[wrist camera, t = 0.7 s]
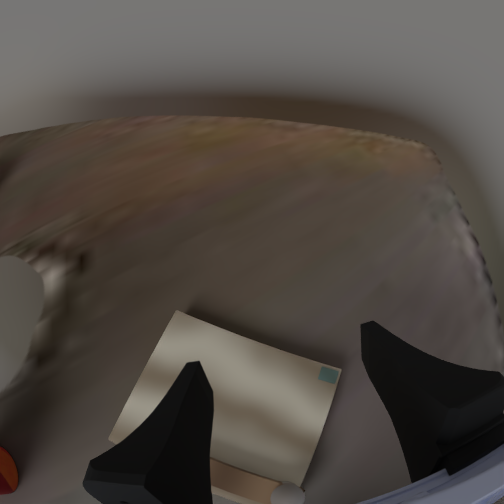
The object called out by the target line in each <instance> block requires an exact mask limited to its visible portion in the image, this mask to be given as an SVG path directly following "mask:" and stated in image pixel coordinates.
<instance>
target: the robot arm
mask: <svg viewBox="0 0 504 504" xmlns="http://www.w3.org/2000/svg"><path fill="white" fill-rule="evenodd" d="M361 352H362V361H363V363H364V366H365V368H366V371H367V373H368V376H369V378H370V380H371V382H372V383H373V385H374V387H375V389H376V391H377V393H378V394H379V396H380V398H381V400H382V402H383V404H384V405H385V407H386V409H387V411H388V413H389V415H390V417H391V419H392V422H393V425H394V427H395V430H396V433H397V435H398V438H399V441H400V444H401V447H402V450H403V453H404V457H405V460H406V463H407V467H408V470H409V474H410V478H411V482H412V484H410V485H407V486H405V487H402V488H400V489H397V490H394V491H392V492H389V493H386V494H383V495H381V496H378V497H375V498H372V499H369V500H365V501H362V502H359V503H355V504H493V503H494V502H496V501H497V500H499V499H500V498H501V497H503V496H504V414H503V410H504V376H503V375H502V374H501V373H500V372H496V371H486V370H478V369H473V368H468V367H464V366H460V365H456V364H453V363H450V362H447V361H444V360H441V359H438V358H436V357H434V356H431V355H429V354H427V353H425V352H423V351H421V350H419V349H417V348H415V347H413V346H411V345H410V344H408V343H406V342H405V341H403V340H402V339H400V338H398V337H397V336H395V335H394V334H392V333H391V332H389V331H388V330H386V329H385V328H383V327H382V326H381V325H379V324H378V323H376V322H375V321H370V322H367V323H363V324H361ZM213 417H214V395H213V390H212V387H211V385H210V383H209V381H208V379H207V376H206V374H205V372H204V370H203V367H202V365H201V363H200V361H193V362H187V363H186V364H185V366H184V367H183V369H182V370H181V372H180V373H179V375H178V377H177V378H176V380H175V381H174V383H173V384H172V386H171V387H170V389H169V390H168V392H167V393H166V395H165V396H164V398H163V399H162V400H161V401H160V403H159V404H158V405H157V407H156V408H155V409H154V410H153V412H152V413H151V414H150V415H149V416H148V417H147V418H146V419H145V420H144V422H143V423H142V424H141V425H140V426H139V427H137V428H136V429H135V430H134V431H133V432H132V433H131V434H130V435H128V436H127V437H126V438H125V439H124V440H122V441H121V442H120V443H118V444H117V445H115V446H114V447H113V448H111V449H110V450H108V451H106V452H105V453H103V454H101V455H99V456H98V457H96V458H94V459H92V460H90V463H89V466H88V469H87V472H86V475H85V478H84V481H83V486H84V488H85V490H86V491H87V492H88V493H89V494H91V495H92V496H93V497H94V498H96V499H97V500H98V501H100V502H101V503H102V504H213V502H212V492H211V477H210V447H211V437H212V427H213Z"/></svg>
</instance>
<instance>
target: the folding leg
mask: <svg viewBox="0 0 504 504" xmlns="http://www.w3.org/2000/svg"><path fill="white" fill-rule="evenodd" d="M210 477H211V485H212V486H214V487H217V488H219V489H222V490H224V491H227V492H230V493H233V494H235V495H238V496H241V497H244V498H247V499H250V500H253V501H256V502H260V503H263V504H304V502H305V494H304V491H305V490H304V489H303V488H301V487H299V486H297V485H295V484H294V483H292V482H289V481H277V480H274V479H271V478H267V477H264V476H261V475H258V474H255V473H252V472H249V471H246V470H243V469H241V468H238V467H235V466H233V465H230V464H227V463H225V462H222V461H220V460H217V459H215V458H212V457H210Z"/></svg>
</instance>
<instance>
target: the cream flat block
mask: <svg viewBox="0 0 504 504" xmlns="http://www.w3.org/2000/svg"><path fill="white" fill-rule="evenodd" d="M193 361H200V363H201V365H202V367H203V370H204V372H205V374H206V376H207V379H208V381H209V383H210V385H211V387H212V390H213V395H214V417H213V427H212V437H211V447H210V457H212V458H215V459H217V460H220V461H222V462H225V463H227V464H230V465H233V466H235V467H238V468H241V469H243V470H246V471H249V472H252V473H255V474H258V475H261V476H264V477H267V478H271V479H274V480H277V481H289V482H292V483H294V484H295V485H297V486H299V487H300V486H301V484H302V481H303V479H304V477H305V474H306V472H307V469H308V467H309V464H310V462H311V459H312V457H313V454H314V451H315V449H316V446H317V443H318V441H319V438H320V435H321V432H322V430H323V427H324V424H325V421H326V418H327V415H328V412H329V409H330V406H331V403H332V400H333V397H334V393H335V390H336V387H337V384H338V380H339V377H340V373H341V370H342V369H339V368H336V367H332V366H329V365H326V364H322V363H319V362H316V361H313V360H310V359H307V358H304V357H300V356H297V355H294V354H291V353H288V352H285V351H282V350H279V349H277V348H274V347H271V346H268V345H265V344H262V343H259V342H257V341H254V340H251V339H248V338H246V337H243V336H240V335H238V334H235V333H232V332H230V331H227V330H224V329H222V328H219V327H217V326H214V325H212V324H209V323H207V322H204V321H202V320H199V319H197V318H194V317H192V316H189V315H187V314H184V313H182V312H180V311H177V310H176V312H175V313H174V315H173V317H172V319H171V321H170V322H169V324H168V326H167V328H166V330H165V331H164V333H163V335H162V337H161V339H160V341H159V342H158V344H157V346H156V348H155V350H154V352H153V354H152V355H151V357H150V359H149V361H148V363H147V365H146V367H145V368H144V370H143V372H142V374H141V376H140V378H139V380H138V382H137V384H136V386H135V387H134V389H133V391H132V393H131V395H130V397H129V399H128V401H127V403H126V405H125V407H124V409H123V411H122V413H121V415H120V417H119V419H118V421H117V422H116V424H115V426H114V428H113V430H112V432H111V434H110V436H109V440H110V441H112V442H113V443H115V444H118V443H120V442H121V441H122V440H124V439H125V438H126V437H127V436H128V435H130V434H131V433H132V432H133V431H134V430H135V429H136V428H137V427H139V426H140V425H141V424H142V423H143V422H144V420H145V419H146V418H147V417H148V416H149V415H150V414H151V413H152V412H153V410H154V409H155V408H156V407H157V405H158V404H159V403H160V401H161V400H162V399H163V398H164V396H165V395H166V393H167V392H168V390H169V389H170V387H171V386H172V384H173V383H174V381H175V380H176V378H177V377H178V375H179V373H180V372H181V370H182V369H183V367H184V366H185V364H186V363H187V362H193ZM211 492H212V493H213V494H216V495H219V496H221V497H224V498H227V499H229V500H232V501H235V502H238V503H241V504H263V503H260V502H256V501H253V500H250V499H247V498H244V497H241V496H238V495H235V494H233V493H230V492H227V491H224V490H222V489H219V488H217V487H214V486H212V485H211Z"/></svg>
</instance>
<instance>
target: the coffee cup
mask: <svg viewBox="0 0 504 504" xmlns="http://www.w3.org/2000/svg"><path fill="white" fill-rule="evenodd" d="M17 485H18V471H17V468H16V465H15V462H14V460H13V458H12V457H11V455H10V454H9V453H8V452H7V451H6V450H5V449H4V448H2V447H0V495H1V494H10V493H12V492H14V491H15V490H16V488H17Z"/></svg>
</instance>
